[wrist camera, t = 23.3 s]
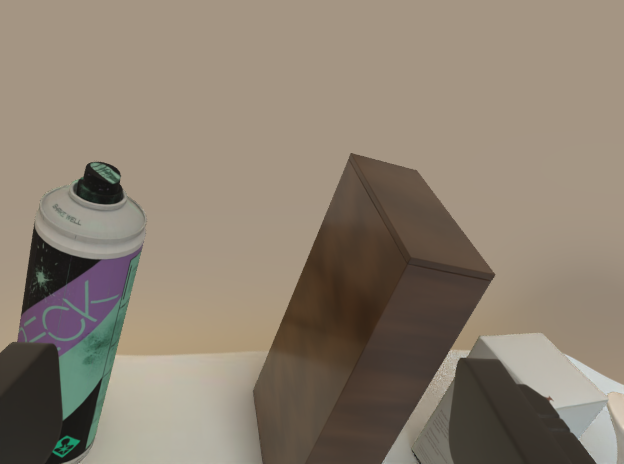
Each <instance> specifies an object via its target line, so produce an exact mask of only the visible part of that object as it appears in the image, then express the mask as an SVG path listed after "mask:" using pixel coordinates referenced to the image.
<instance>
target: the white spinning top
mask: <svg viewBox="0 0 624 464" xmlns="http://www.w3.org/2000/svg"><path fill="white" fill-rule="evenodd" d="M607 397H608V398H609V400H608V402H607V403H606V404H607V408H608V411H609V414H610V417H611V420H612V423H613V426H614V430H615V433H616V438H617V464H624V395H623V394H620V393H617V392H610V393H608V395H607Z"/></svg>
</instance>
